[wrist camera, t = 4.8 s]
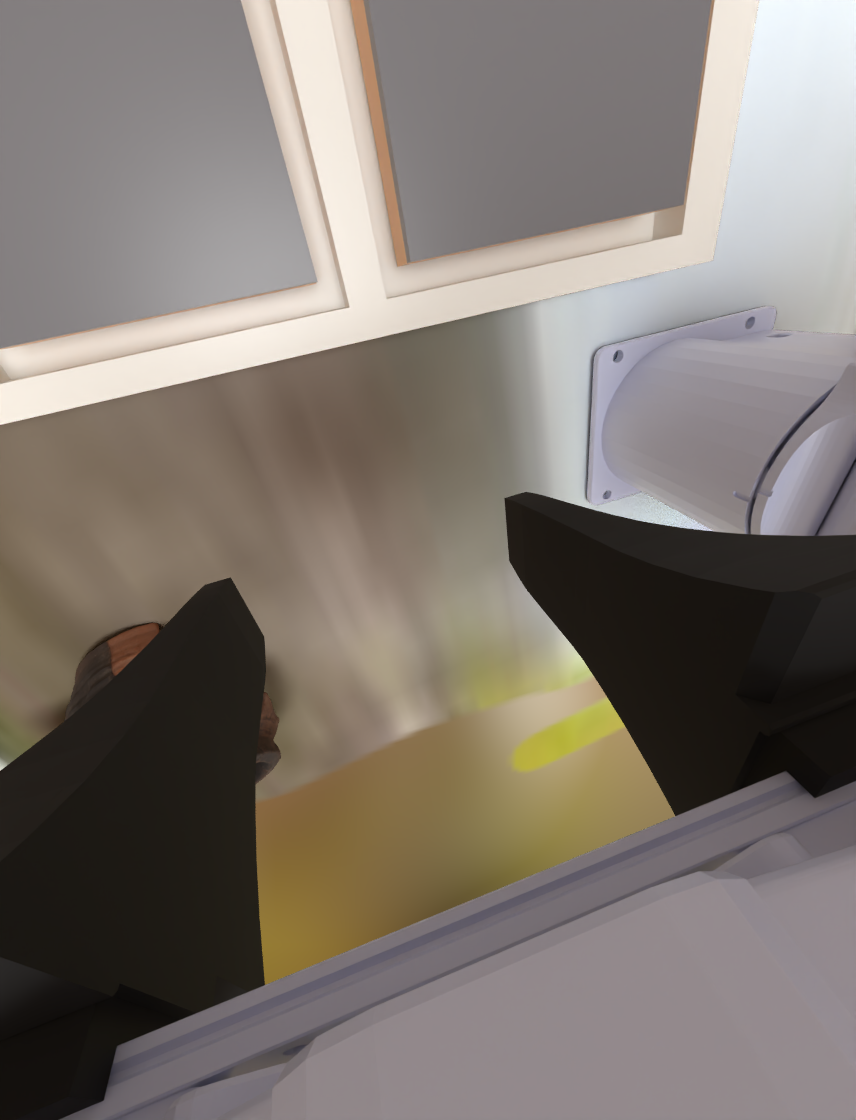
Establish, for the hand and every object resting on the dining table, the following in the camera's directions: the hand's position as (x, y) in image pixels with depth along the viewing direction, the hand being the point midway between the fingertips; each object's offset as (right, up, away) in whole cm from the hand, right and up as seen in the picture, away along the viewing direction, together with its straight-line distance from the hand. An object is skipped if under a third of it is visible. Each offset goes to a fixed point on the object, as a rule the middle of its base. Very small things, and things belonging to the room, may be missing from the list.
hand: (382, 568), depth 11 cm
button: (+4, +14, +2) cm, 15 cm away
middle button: (-8, +11, 0) cm, 13 cm away
